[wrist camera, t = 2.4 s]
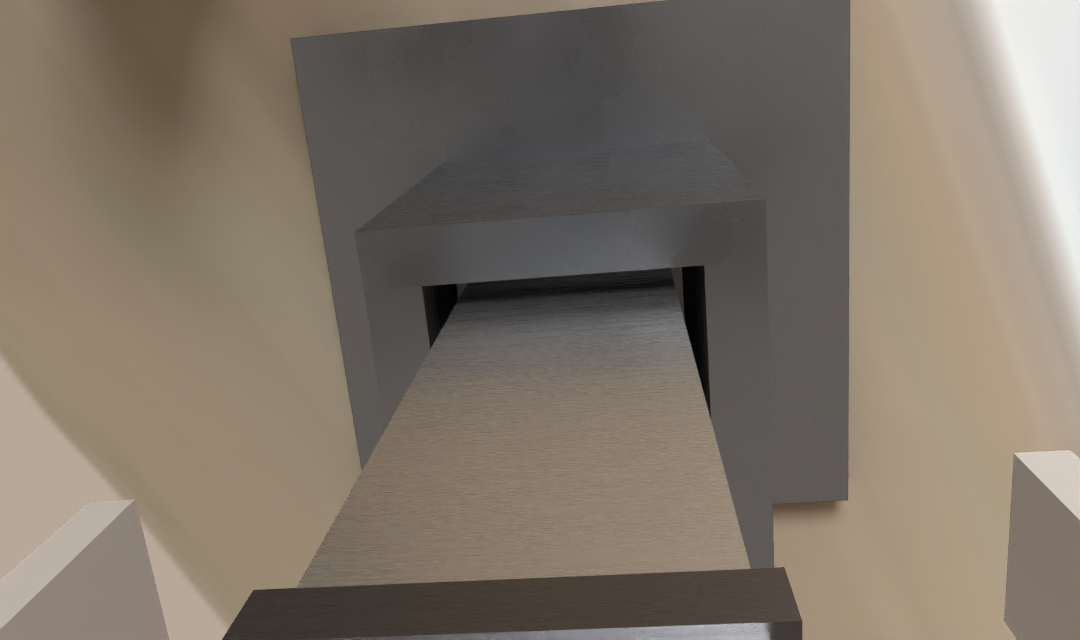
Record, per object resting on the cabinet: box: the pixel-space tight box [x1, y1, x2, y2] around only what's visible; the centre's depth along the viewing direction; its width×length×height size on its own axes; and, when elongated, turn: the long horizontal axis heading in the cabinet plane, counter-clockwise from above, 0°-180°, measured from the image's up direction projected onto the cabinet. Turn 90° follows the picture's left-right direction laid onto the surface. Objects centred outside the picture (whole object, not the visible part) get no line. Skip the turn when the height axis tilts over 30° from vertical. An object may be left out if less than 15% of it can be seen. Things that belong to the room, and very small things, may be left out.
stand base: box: [290, 0, 850, 569], centre depth 24 cm, size 16×16×12 cm
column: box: [222, 267, 802, 640], centre depth 18 cm, size 5×5×22 cm
